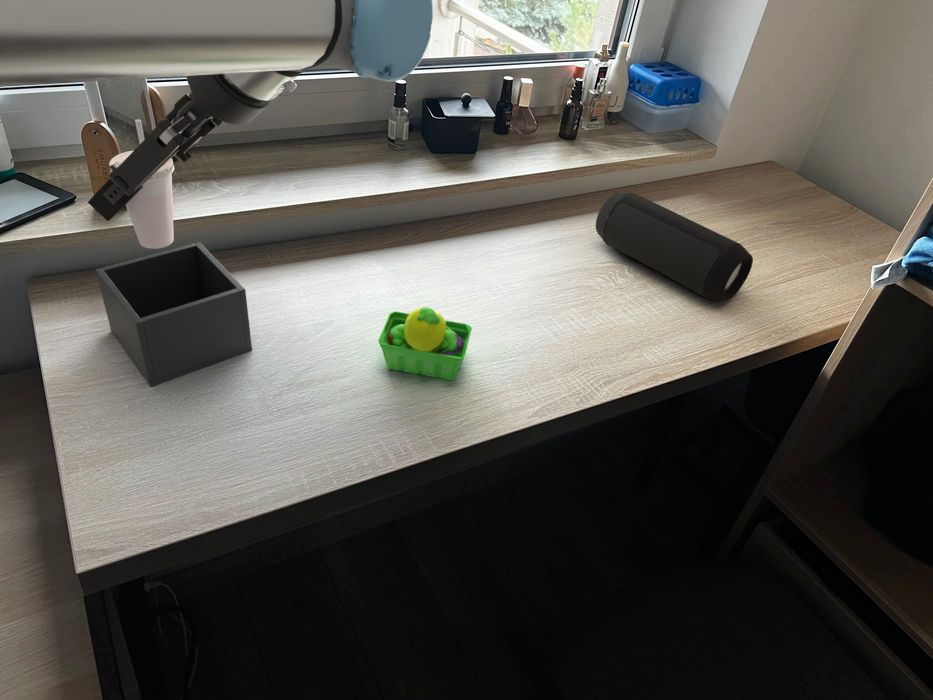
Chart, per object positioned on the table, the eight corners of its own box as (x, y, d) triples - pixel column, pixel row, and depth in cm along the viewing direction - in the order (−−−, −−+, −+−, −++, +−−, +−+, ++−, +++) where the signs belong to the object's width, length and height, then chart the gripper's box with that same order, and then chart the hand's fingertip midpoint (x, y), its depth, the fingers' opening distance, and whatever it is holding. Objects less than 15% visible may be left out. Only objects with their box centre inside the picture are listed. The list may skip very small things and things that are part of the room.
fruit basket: (469, 353, 101) (477, 285, 94) (459, 394, 94) (467, 325, 87) (389, 339, 101) (392, 271, 94) (373, 379, 95) (375, 309, 88)
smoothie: (198, 239, 84) (179, 122, 75) (151, 261, 80) (126, 139, 71) (161, 221, 87) (139, 105, 78) (114, 241, 82) (85, 121, 73)
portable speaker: (742, 294, 120) (763, 242, 114) (711, 315, 114) (732, 261, 108) (620, 231, 133) (633, 181, 127) (586, 246, 128) (598, 195, 122)
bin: (150, 387, 89) (135, 323, 83) (111, 331, 97) (94, 269, 91) (252, 350, 97) (245, 289, 91) (208, 300, 104) (199, 241, 98)
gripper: (225, 139, 63) (93, 264, 74) (307, 72, 78) (187, 185, 89) (157, 67, 60) (32, 209, 72) (256, 12, 75) (140, 137, 87)
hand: (118, 196), depth 80 cm, fingers closed on smoothie, 6 cm apart
